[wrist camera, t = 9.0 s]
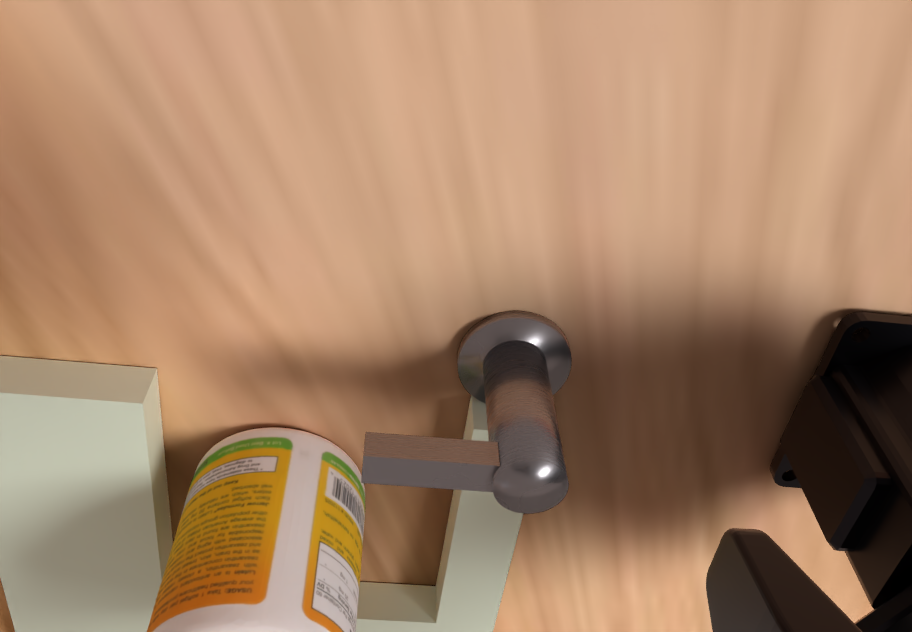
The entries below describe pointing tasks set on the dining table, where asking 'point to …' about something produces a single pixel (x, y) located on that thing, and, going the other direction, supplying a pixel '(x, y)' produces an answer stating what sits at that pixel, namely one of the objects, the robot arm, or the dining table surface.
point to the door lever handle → (493, 421)
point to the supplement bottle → (267, 539)
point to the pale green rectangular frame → (148, 512)
